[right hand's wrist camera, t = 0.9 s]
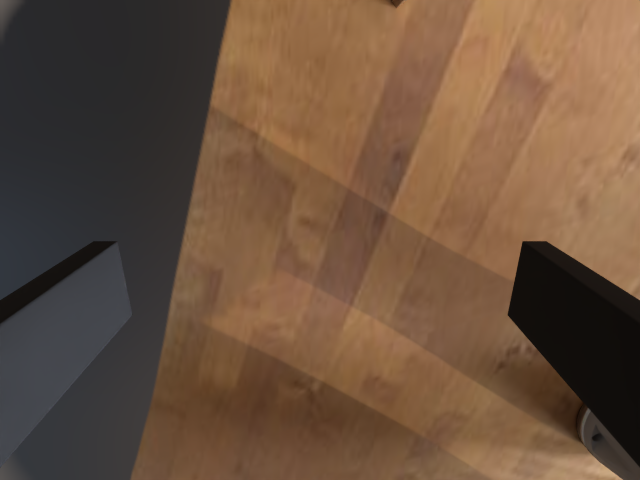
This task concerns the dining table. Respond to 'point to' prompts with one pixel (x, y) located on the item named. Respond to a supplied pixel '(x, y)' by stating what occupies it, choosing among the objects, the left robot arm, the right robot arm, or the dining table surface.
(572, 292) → the right robot arm
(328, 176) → the dining table surface
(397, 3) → the post
